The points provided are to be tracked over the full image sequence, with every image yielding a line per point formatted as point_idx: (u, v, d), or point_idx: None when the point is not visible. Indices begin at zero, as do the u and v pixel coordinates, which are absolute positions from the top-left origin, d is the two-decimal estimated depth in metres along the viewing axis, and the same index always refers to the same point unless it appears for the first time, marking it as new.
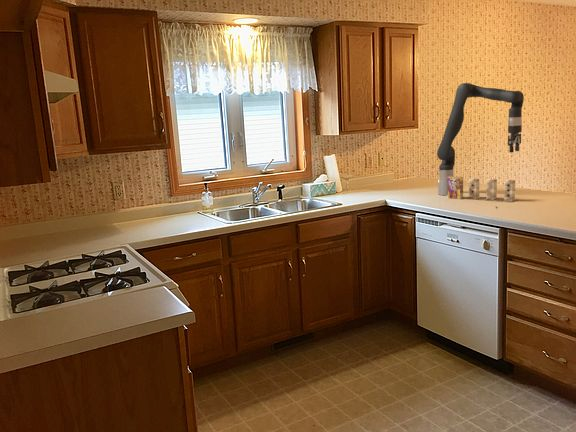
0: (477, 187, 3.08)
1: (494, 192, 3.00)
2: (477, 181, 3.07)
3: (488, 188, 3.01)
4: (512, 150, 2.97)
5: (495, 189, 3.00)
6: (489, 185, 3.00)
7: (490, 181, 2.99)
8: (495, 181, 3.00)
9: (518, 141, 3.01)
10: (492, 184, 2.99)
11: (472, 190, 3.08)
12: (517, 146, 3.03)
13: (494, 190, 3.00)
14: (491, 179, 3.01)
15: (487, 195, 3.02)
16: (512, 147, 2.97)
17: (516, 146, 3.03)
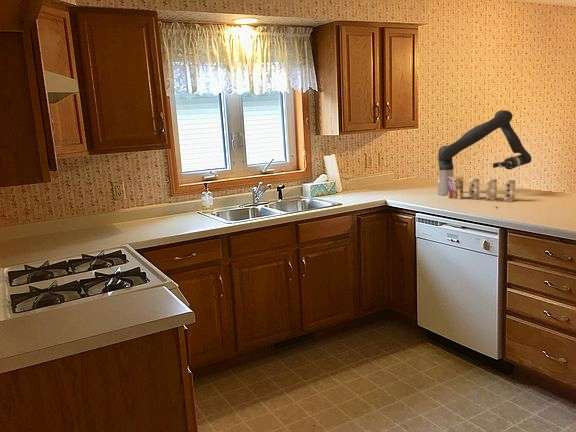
0: (477, 187, 3.08)
1: (494, 192, 3.00)
2: (477, 181, 3.07)
3: (488, 188, 3.01)
4: (508, 167, 3.06)
5: (495, 189, 3.00)
6: (489, 185, 3.00)
7: (490, 181, 2.99)
8: (495, 181, 3.00)
9: (500, 166, 3.14)
10: (492, 184, 2.99)
11: (472, 190, 3.08)
12: (496, 165, 3.13)
13: (494, 190, 3.00)
14: (491, 179, 3.01)
15: (487, 195, 3.02)
16: (510, 166, 3.07)
17: (496, 165, 3.13)
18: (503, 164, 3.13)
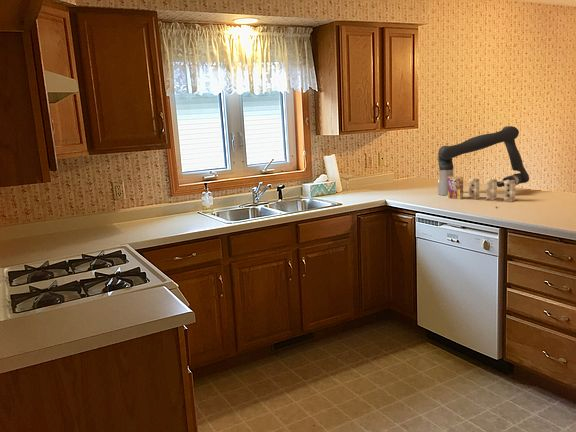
0: (477, 187, 3.08)
1: (494, 192, 3.00)
2: (477, 181, 3.07)
3: (488, 188, 3.01)
4: (501, 186, 3.10)
5: (495, 189, 3.00)
6: (489, 185, 3.00)
7: (490, 181, 2.99)
8: (495, 181, 3.00)
9: (503, 185, 3.14)
10: (492, 184, 2.99)
11: (472, 190, 3.08)
12: None
13: (494, 190, 3.00)
14: (491, 179, 3.01)
15: (487, 195, 3.02)
16: (502, 185, 3.11)
17: None
18: None
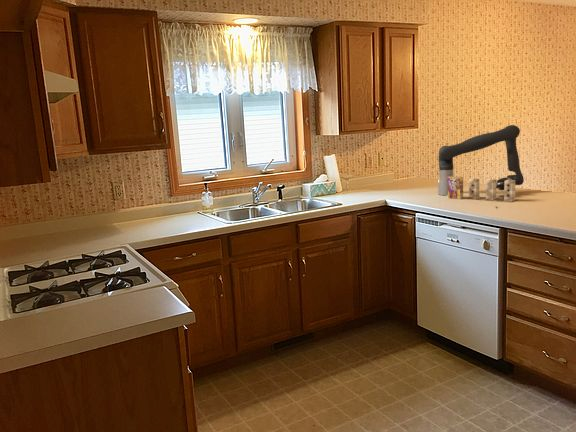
0: (477, 187, 3.08)
1: (493, 192, 3.00)
2: (477, 181, 3.07)
3: (488, 188, 3.01)
4: None
5: (494, 189, 3.00)
6: (488, 185, 3.00)
7: (490, 181, 2.99)
8: (495, 181, 2.99)
9: None
10: (492, 184, 2.98)
11: (472, 190, 3.08)
12: None
13: (493, 190, 2.99)
14: (491, 179, 3.00)
15: (486, 196, 3.02)
16: (496, 188, 3.05)
17: None
18: None
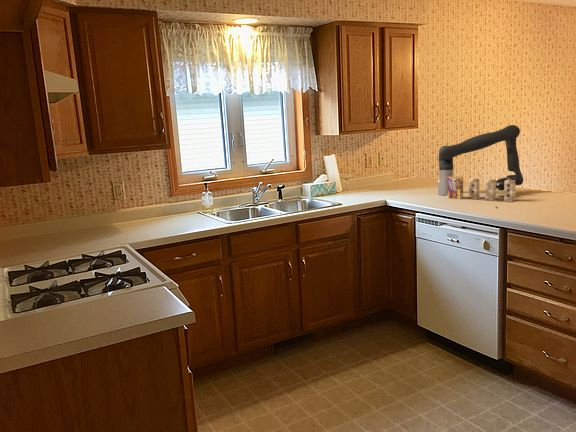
0: (477, 187, 3.08)
1: (493, 192, 2.99)
2: (477, 181, 3.07)
3: (487, 189, 3.00)
4: None
5: (493, 189, 2.99)
6: (487, 185, 2.99)
7: (489, 181, 2.98)
8: (494, 181, 2.99)
9: None
10: (491, 184, 2.98)
11: (472, 190, 3.08)
12: None
13: (493, 190, 2.99)
14: (490, 179, 3.00)
15: (486, 196, 3.01)
16: None
17: None
18: None
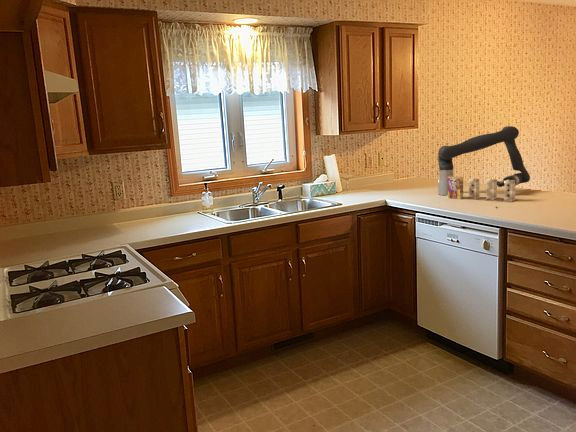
0: (477, 187, 3.08)
1: (494, 192, 3.00)
2: (477, 181, 3.07)
3: (488, 188, 3.01)
4: (501, 186, 3.10)
5: (495, 189, 3.00)
6: (489, 185, 3.00)
7: (490, 181, 2.99)
8: (495, 181, 3.00)
9: None
10: (492, 184, 2.99)
11: (472, 190, 3.08)
12: None
13: (494, 190, 3.00)
14: (491, 179, 3.01)
15: (487, 195, 3.02)
16: (502, 185, 3.11)
17: None
18: None
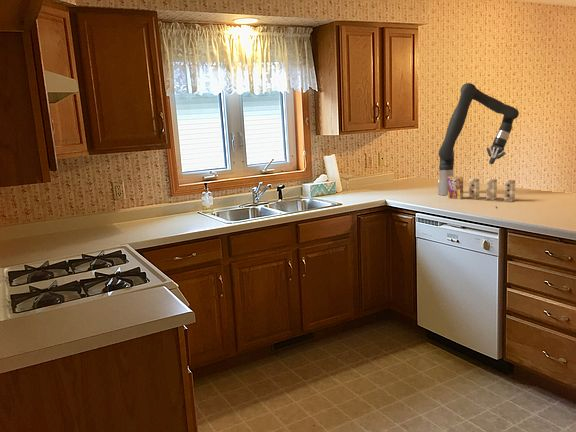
0: (477, 187, 3.08)
1: (494, 192, 3.00)
2: (477, 181, 3.07)
3: (488, 188, 3.01)
4: None
5: (495, 189, 3.00)
6: (489, 185, 3.00)
7: (490, 181, 2.99)
8: (495, 181, 3.00)
9: (495, 154, 3.21)
10: (492, 184, 2.99)
11: (472, 190, 3.08)
12: None
13: (494, 190, 3.00)
14: (491, 179, 3.01)
15: (487, 195, 3.02)
16: None
17: None
18: None
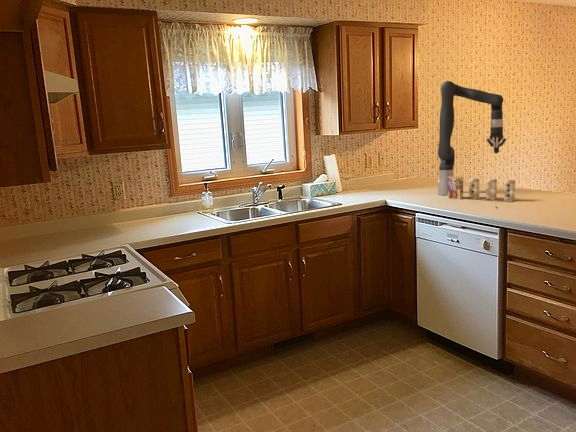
0: (477, 187, 3.08)
1: (494, 192, 3.00)
2: (477, 181, 3.07)
3: (488, 188, 3.01)
4: None
5: (495, 189, 3.00)
6: (489, 185, 3.00)
7: (490, 181, 2.99)
8: (495, 181, 3.00)
9: None
10: (492, 184, 2.99)
11: (472, 190, 3.08)
12: None
13: (494, 190, 3.00)
14: (491, 179, 3.01)
15: (487, 195, 3.02)
16: None
17: None
18: None
